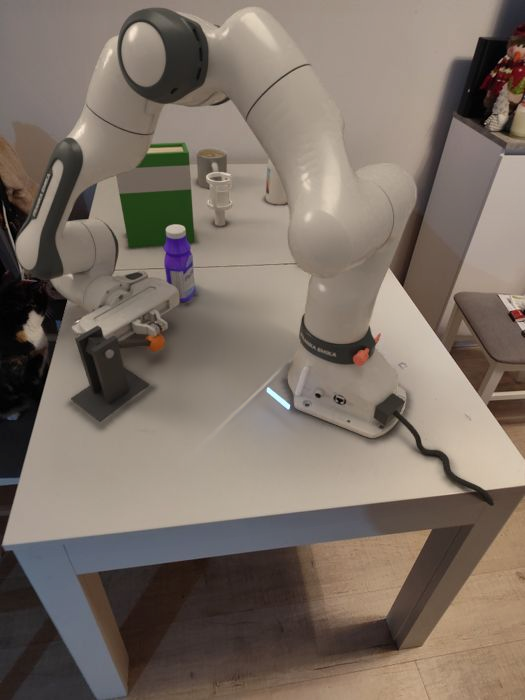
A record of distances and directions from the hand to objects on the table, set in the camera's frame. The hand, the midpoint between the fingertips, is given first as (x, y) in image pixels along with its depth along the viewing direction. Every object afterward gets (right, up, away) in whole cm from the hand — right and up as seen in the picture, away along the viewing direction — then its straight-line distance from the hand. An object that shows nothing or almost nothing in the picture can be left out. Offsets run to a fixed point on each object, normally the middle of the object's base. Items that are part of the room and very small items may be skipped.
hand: (161, 330), depth 82 cm
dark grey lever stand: (-9, -12, -2) cm, 15 cm away
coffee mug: (+1, +53, +71) cm, 89 cm away
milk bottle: (+24, +45, +64) cm, 82 cm away
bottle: (0, +8, +22) cm, 23 cm away
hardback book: (-10, +27, +42) cm, 51 cm away
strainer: (+6, +34, +50) cm, 61 cm away
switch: (-5, -4, -4) cm, 8 cm away
